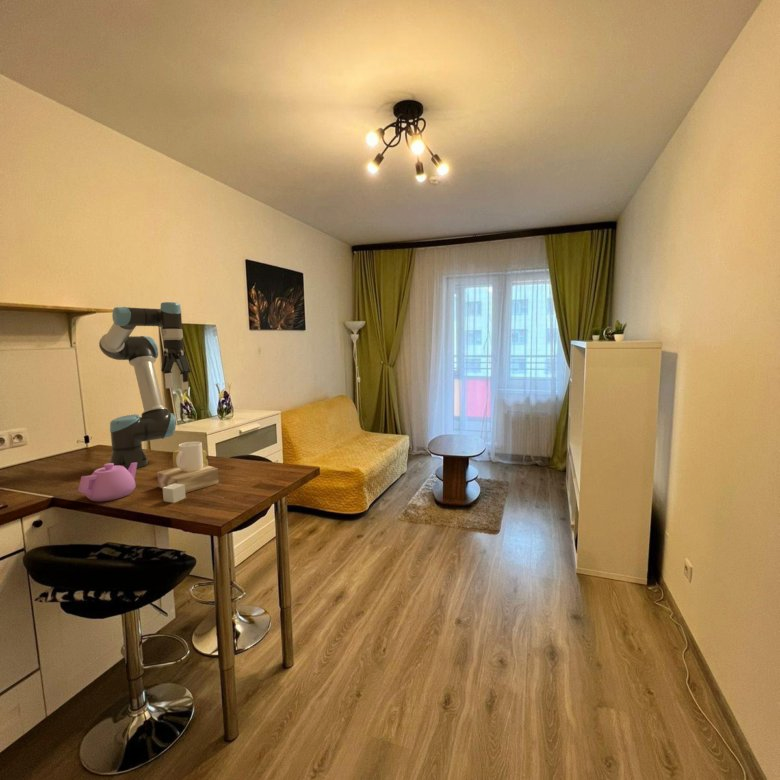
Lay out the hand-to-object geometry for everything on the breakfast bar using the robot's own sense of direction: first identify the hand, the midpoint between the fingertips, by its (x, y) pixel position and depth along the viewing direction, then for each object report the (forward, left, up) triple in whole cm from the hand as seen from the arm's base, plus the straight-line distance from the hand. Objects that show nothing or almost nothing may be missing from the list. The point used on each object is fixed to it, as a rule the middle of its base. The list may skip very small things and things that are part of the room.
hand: (176, 388), depth 177 cm
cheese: (+1, +3, -37) cm, 37 cm away
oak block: (+20, -8, -37) cm, 43 cm away
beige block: (+31, -19, -37) cm, 52 cm away
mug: (+21, -8, -31) cm, 38 cm away
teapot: (+6, -30, -37) cm, 48 cm away
